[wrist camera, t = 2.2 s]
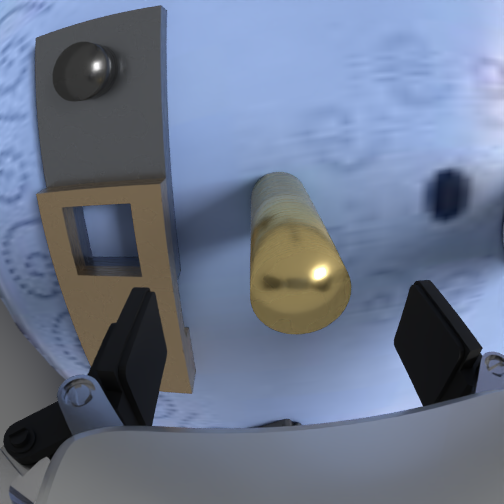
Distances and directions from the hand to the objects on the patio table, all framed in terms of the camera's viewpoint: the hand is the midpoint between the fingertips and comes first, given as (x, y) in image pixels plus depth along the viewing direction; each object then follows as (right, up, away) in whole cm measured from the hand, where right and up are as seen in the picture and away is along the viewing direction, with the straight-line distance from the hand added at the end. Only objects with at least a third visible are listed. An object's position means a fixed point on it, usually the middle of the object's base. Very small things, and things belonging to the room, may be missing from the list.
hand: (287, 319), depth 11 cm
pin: (+1, +6, +12) cm, 13 cm away
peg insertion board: (-12, +4, +13) cm, 18 cm away
